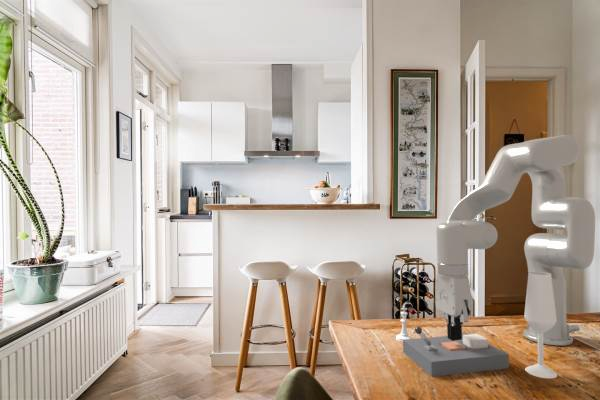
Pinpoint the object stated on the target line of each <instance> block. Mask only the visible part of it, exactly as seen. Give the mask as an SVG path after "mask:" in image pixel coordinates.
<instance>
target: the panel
mask: <svg viewBox="0 0 600 400" xmlns="http://www.w3.org/2000/svg"><path fill="white" fill-rule="evenodd" d="M468 334H469V333H468ZM468 334H462V339H461V340H455V341H456V342H458V343H459V344H461V345H462V346H464V347H466V350H458V351H449V350H447V349H446V348H444V347H443V346H441V343H443V342H455V341H452V340H450V339H448V335H446V336H445V335H444V336H433V337H427V338H428V339H429V341H430V342H431V346H427V344H426V343H425V342H424V341H423V339H422V338H421V337H420V338H412V339H407V340H403V342H402V349H403V350H402V352H403V354H405V356H407V357H408V359H410V360H412V361H413V362H414V363H415V364H416V365H418V367H420V368H421V369H422V370H423V371H424V372H425V373H427V374H428V375H430V377H441V376H451V375H458V374H459V375H460V374H468V373H477V372H478V373H479V372H488V371H496V370H504V369H510V367H509V366H510V363H509V362H510V359H509V358H510V357H509V356H510V355H509V353H507V352H506V351H504V350H501V349H500V348H498V347H496V346H494V345H493V344H490V343H489V342H488V348H479V349H472V348H470V347H468V346H466V345H465V344H463V335H468Z"/></svg>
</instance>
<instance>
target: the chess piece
mask: <svg viewBox="0 0 600 400" xmlns="http://www.w3.org/2000/svg"><path fill="white" fill-rule="evenodd" d="M400 310H401V311H400V315H401V319H400V320H399V321H400V322H401V324H402V325H401V331H400V333H399V334H397V335H396V337H395V340H396V341H398V342H402V343H403V340H407V339H413V336H412V335H410V334H409V333H408V331H407V323H408V319H407V315H408V312H407V311H408V308H407V307H406V306H405V305H404V306H402V307H401V308H400Z"/></svg>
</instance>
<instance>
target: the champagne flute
mask: <svg viewBox="0 0 600 400" xmlns="http://www.w3.org/2000/svg"><path fill="white" fill-rule="evenodd" d="M527 272H528V271H527ZM526 283H527V284H526V295H525V305H524V314H523V316H524V319H525V322H526V323H527V324H528V326H529V325H530V326H531V327H532V328H533V329H534V330H535V331H537V332H538V342H537V363H535V364H532V365H529V366H526V367H525V368H524V370H525V372H527V373H528V374H529V375H531V376H534V377H537V378H542V379H555V378H557V377H558V374H557V373H556V372H555V371H554V370H553V369H551V368H549V367H548V366H547V365H545V364H544V360H545V359H544V358H545V357H544V344H543V333H544V332H547V331H548V330H549V329H551V328H552V327H553V326H554V325H555V324H556V322H557V318H556V310H555V302H554V293H553V285H552V277H551V274H550V273H545V272H528V275H527V282H526Z"/></svg>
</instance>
